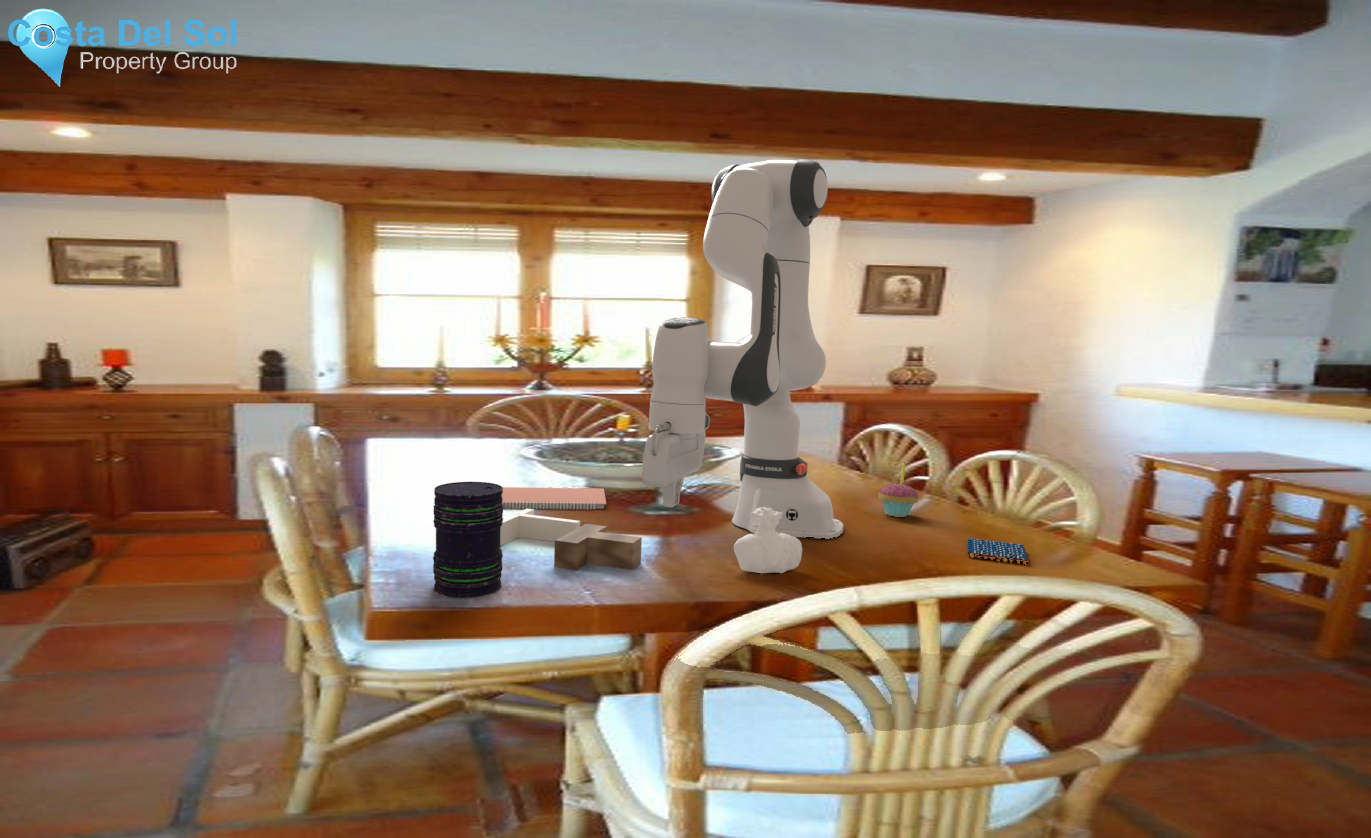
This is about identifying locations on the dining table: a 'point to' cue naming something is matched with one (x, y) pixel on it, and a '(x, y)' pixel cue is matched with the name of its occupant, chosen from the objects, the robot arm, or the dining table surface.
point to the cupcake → (898, 497)
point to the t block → (597, 549)
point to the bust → (767, 546)
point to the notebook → (553, 498)
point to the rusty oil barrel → (468, 539)
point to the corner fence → (535, 527)
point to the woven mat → (997, 549)
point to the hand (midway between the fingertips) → (671, 505)
